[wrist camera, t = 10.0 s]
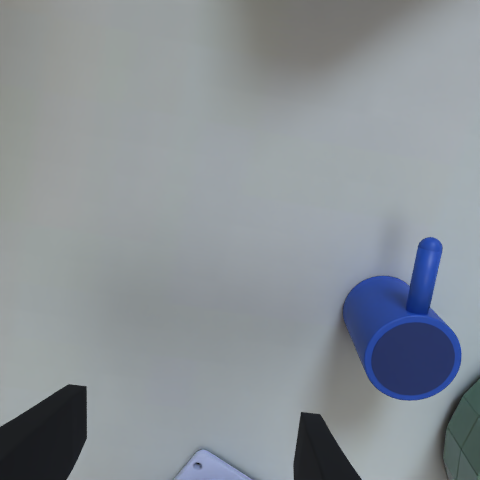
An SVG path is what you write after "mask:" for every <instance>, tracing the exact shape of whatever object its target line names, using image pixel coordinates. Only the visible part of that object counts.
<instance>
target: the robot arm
mask: <svg viewBox="0 0 480 480" xmlns="http://www.w3.org/2000/svg"><path fill="white" fill-rule="evenodd" d="M86 439H87V391H86V386H78V385H70V384H69V385H67V386H65V387H63V388H62V389H60V390H59V391H57V392H55V393H54V394H52V395H51V396H49V397H48V398H46V399H45V400H43V401H42V402H40V403H38V404H37V405H35V406H34V407H32V408H31V409H29V410H27V411H26V412H24V413H23V414H21V415H19V416H18V417H16V418H15V419H13V420H11V421H10V422H8V423H6V424H4V425H3V426H1V427H0V480H66V479H67V478H68V476H69V474H70V473H71V471H72V469H73V467H74V465H75V463H76V461H77V459H78V457H79V455H80V452H81V450H82V448H83V446H84V443H85V441H86ZM196 463H200V464H201V465H197V464H196ZM174 480H252V479H251V478H249V477H248V476H246V475H245V474H243V473H242V472H240V471H238V470H237V469H235V468H234V467H232V466H231V465H229V464H227V463H226V462H224V461H223V460H221V459H220V458H218V457H216V456H215V455H213V454H212V453H210V452H209V451H207V450H198V451H197V452H196V453H195V454H194V456H193V457H192V458H191V459H190V460H189V462H188V463H187V464H186V465H185V466H184V468H183V469H182V470H181V471H180V472H179V474H178V475H177V476H176V477H175V478H174ZM294 480H362V479H361V478H360V476H359V475H358V474H357V472H356V471H355V469H354V468H353V467H352V465H351V464H350V462H349V461H348V459H347V458H346V456H345V455H344V453H343V452H342V450H341V448H340V447H339V445H338V444H337V442H336V440H335V439H334V437H333V435H332V434H331V432H330V430H329V429H328V427H327V425H326V423H325V421H324V420H323V418H322V416H321V415H320V414H313V413H305V412H301V417H300V423H299V430H298V437H297V444H296V451H295V457H294Z"/></svg>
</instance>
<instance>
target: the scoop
mask: <svg viewBox="0 0 480 480" xmlns="http://www.w3.org/2000/svg"><path fill="white" fill-rule="evenodd" d="M441 254H442V244H441V243H440V241H439V240H437V239H436V238H433V237H428V238H425V239H423V240H422V241H421V242H420V243H419V245H418V250H417V254H416V259H415V264H414V269H413V274H412V279H411V284H410V286H409V285H408V284H407V283H405V282H404V281H402V280H400V279H398V278H394V277H390V276H376V277H372V278H369V279H366V280H364V281H362V282H361V283H359V284H358V285H356V286H355V287H354V288H353V289H352V290H351V292H350V293H349V294H348V296H347V298H346V300H345V303H344V307H343V317H344V321H345V324H346V327H347V329H348V331H349V334H350V336H351V339H352V341H353V343H354V346H355V348H356V350H357V353H358V355H359V358H360V360H361V362H362V365H363V367H364V369H365V372H366V374H367V376H368V378H369V380H370V381H371V383H372V384H373V385H374V386H375V387H376V388H377V389H378V390H379V391H381V392H382V393H384V394H386V395H388V396H390V397H392V398H396V399H400V400H420V399H424V398H428V397H431V396H433V395H435V394H437V393H439V392H440V391H442V390H443V389H445V388H446V387H447V386H448V385H449V384H450V383H451V382H452V380H453V379H454V378H455V376H456V374H457V372H458V370H459V367H460V364H461V347H460V343H459V341H458V338H457V336H456V335H455V333H454V332H453V331H452V330H451V329H450V328H449V326H448V325H447V324H446V323H445V322H444V321H443V320H442V319H441V318H440V317H439V316H438V315H437V314H436V313H435V312H434V311H433V310H432V309H431V308H430V304H431V299H432V295H433V290H434V286H435V281H436V277H437V272H438V268H439V263H440V258H441Z"/></svg>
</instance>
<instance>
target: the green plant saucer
mask: <svg viewBox="0 0 480 480" xmlns="http://www.w3.org/2000/svg"><path fill="white" fill-rule="evenodd" d="M443 460H444V464H445V468H446V472H447V475H448V479H449V480H480V379H479V380H478V381H477V382H476V383H475V384H474V385H473V386H472V387H471V388H470V389H469V390H468V391H467V392H466V393H465V394H464V395H463V397H462V398H461V400H460V402H459V404H458V406H457V408H456V410H455V412H454V414H453V416H452V418H451V420H450V421H449V423H448V427H447V429H446V437H445V445H444V453H443Z"/></svg>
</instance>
